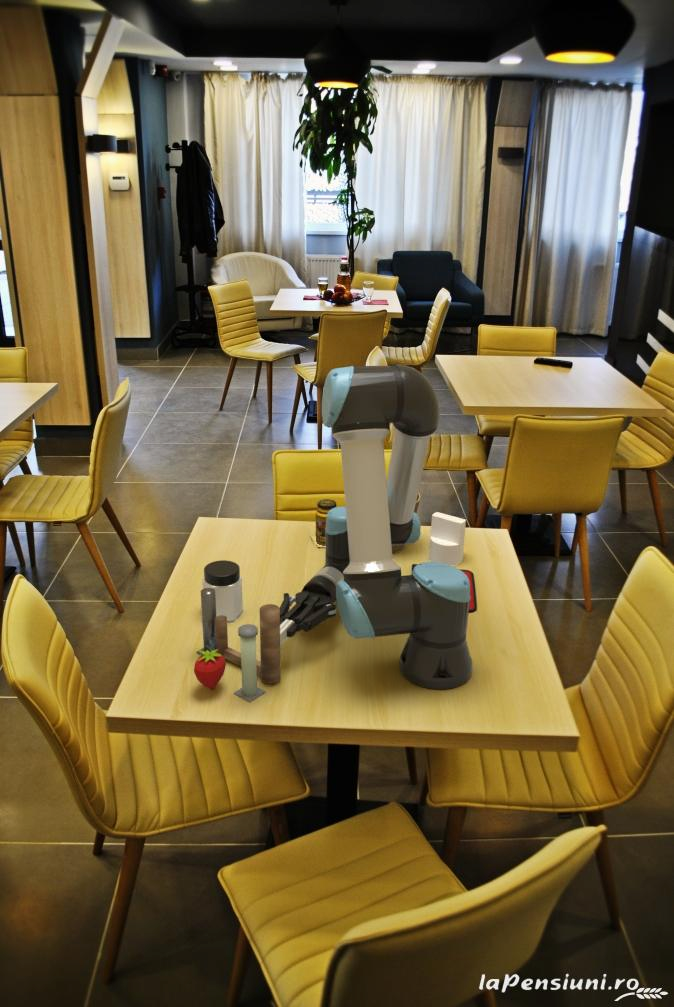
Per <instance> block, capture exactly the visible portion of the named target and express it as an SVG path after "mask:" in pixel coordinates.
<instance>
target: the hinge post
mask: <svg viewBox="0 0 674 1007" xmlns="http://www.w3.org/2000/svg"><path fill="white" fill-rule="evenodd" d="M200 601H201V602H200V603H201V605H200V606H201V621H202V622H201V624H202V637H203V638H202V640H203V644H202V645H203V648H200V649H199V650H196V652H195V653H196V654H198V655H200V656H201V655H203V654H201V653H200V652H199V651H205V652H206V651H207V650H208V651H209V652H211V650H212V651H214V650H217V644H216V623H215V618H216V598H215V590H214V589H213V588H204V589H203V588H202V589H201V590H200ZM206 645H207V646H208V647H209V648H210V649H211V650H210V649H209V648H208V647H207V646H206ZM216 652H217V651H216Z"/></svg>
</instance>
